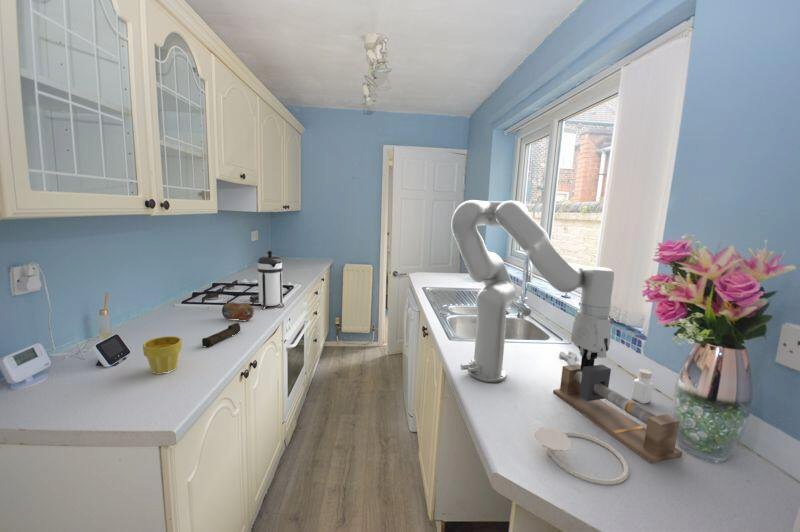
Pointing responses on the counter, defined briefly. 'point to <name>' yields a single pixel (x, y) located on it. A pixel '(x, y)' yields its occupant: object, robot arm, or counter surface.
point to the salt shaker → (642, 387)
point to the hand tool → (221, 335)
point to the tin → (237, 311)
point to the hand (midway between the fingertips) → (586, 369)
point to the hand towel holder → (561, 443)
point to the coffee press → (270, 280)
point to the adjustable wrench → (569, 357)
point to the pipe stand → (622, 418)
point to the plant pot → (162, 353)
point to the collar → (593, 381)
